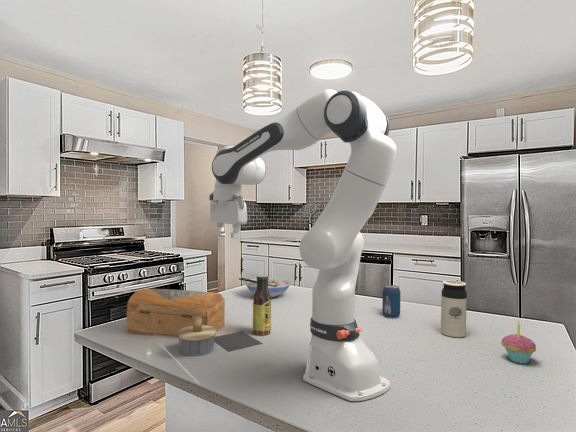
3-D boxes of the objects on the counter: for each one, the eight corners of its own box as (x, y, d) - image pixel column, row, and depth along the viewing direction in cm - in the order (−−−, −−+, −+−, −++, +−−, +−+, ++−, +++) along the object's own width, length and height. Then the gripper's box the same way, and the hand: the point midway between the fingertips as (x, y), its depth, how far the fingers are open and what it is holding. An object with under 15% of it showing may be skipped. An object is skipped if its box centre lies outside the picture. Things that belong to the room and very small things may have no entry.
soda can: (399, 314, 153) (399, 285, 152) (401, 319, 146) (401, 288, 146) (381, 313, 154) (382, 284, 154) (382, 318, 147) (383, 287, 147)
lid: (221, 335, 111) (222, 319, 111) (185, 343, 105) (185, 325, 104) (207, 326, 120) (207, 310, 120) (173, 332, 114) (173, 316, 113)
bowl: (219, 352, 111) (219, 335, 111) (186, 359, 105) (186, 342, 105) (206, 342, 119) (206, 326, 119) (175, 348, 114) (175, 332, 113)
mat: (263, 344, 118) (263, 343, 118) (228, 353, 111) (228, 351, 111) (242, 332, 129) (242, 331, 129) (209, 339, 122) (209, 337, 122)
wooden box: (226, 326, 136) (227, 288, 136) (206, 342, 120) (206, 299, 120) (154, 319, 143) (154, 283, 143) (125, 333, 127) (125, 293, 127)
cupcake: (536, 368, 102) (537, 325, 101) (500, 361, 106) (501, 320, 106) (535, 358, 109) (536, 317, 109) (501, 352, 113) (502, 312, 113)
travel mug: (442, 328, 135) (443, 279, 134) (466, 332, 131) (467, 281, 130) (439, 335, 128) (440, 283, 127) (464, 339, 124) (465, 285, 123)
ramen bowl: (302, 296, 181) (302, 280, 181) (268, 305, 164) (268, 287, 164) (267, 288, 198) (267, 273, 198) (233, 296, 181) (233, 279, 181)
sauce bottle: (268, 337, 124) (268, 278, 124) (250, 336, 125) (250, 277, 125) (273, 331, 130) (273, 274, 130) (255, 329, 132) (256, 273, 131)
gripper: (252, 195, 117) (252, 239, 117) (223, 196, 133) (223, 235, 134) (234, 194, 113) (234, 240, 113) (206, 196, 130) (206, 235, 130)
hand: (227, 237), depth 124 cm, fingers open, 8 cm apart
